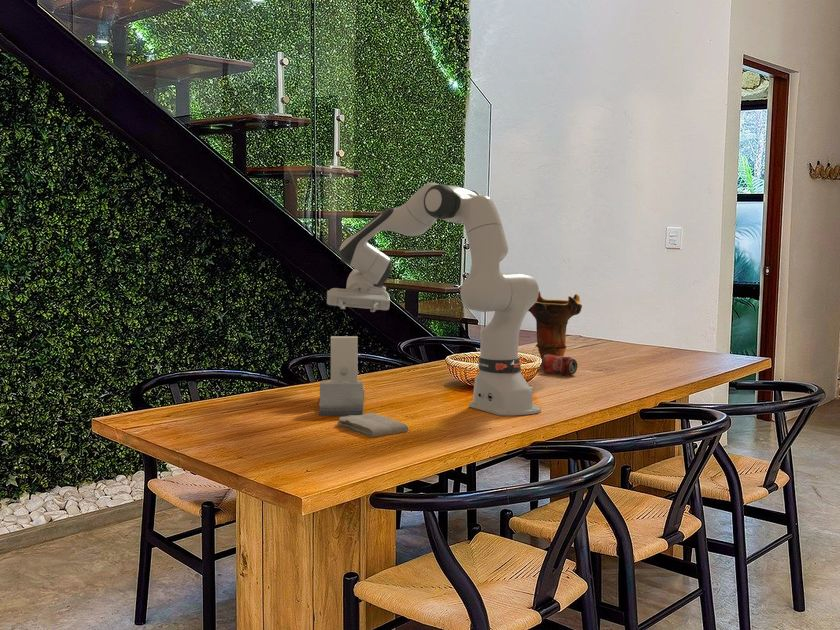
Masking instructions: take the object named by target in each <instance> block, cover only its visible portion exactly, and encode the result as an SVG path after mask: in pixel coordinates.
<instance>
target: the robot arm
mask: <svg viewBox="0 0 840 630" xmlns="http://www.w3.org/2000/svg"><path fill="white" fill-rule="evenodd" d="M437 220H443V221H446V222H450V223H452V224H463V226H464V229H465V234H466V237H467V243H468V248H469V250H470V251H469V252H470V256H471V257H470V258H471V264H470V265H471V266H470V269H469V270H470V271H469V273H468V276H466V278H465V279H464V281H463V282H462V284H461V286H460V299H461V302H462V304H463V305H464V306H465V308H467V309H468V310H470V311H476V312H480V313H481V312H482V313H486V312H494V313H493V317H492V319H491V320H490V322H489V323H488V324H487V325H485V326H484V327H483V328H482V329H481V331H480V351H479V353H480V355H479V357H478V370H479V372H478V374H477V375H476V377H474V383H473V394H472V401H470V402H469V404H468V407H470V408H473V409H475V410H476V409H477V410H480V411H484V412H487V413H489V414H490V413H491V414H494V415H498V416H524V415H534V414H539V413H541V412H542V409H541V408H540V407H539V406H538V405H536V404H534V402H533V401H534V399H533V394H534V388H533V386H530V385H529V383H528V382H527V381H526V379H525V377H524V376H523V374H522V372H521V371H522V369H521V368H522V366H521V365H522V363H521V362H520V358H519V339H520V338H519V337H520V331H521V327H522V323H523V322H524V321H523V320H524V318H525V316H526V314H527V313H528V312H529V311H528V310H529V309H530V308H531V307H532V306H533V305H534V304H535V303H536V301H537V299H538V295H539V291H540V289H539V285H538V281H536V279H535V278H534V277H533V276H531V275H528V274H525V273H519V272H512V273H511V272H507V273H504V272H503V273H502V271H501V269H500V262H502V261H503V260H504V259H505V258H506V257H507V254H508V252H509V245H508V243H507V242H508V241H507V238H506V234H505V230H504V226H503V223H502V220H501V217H500V214H499V211H498V209H497V207H496V204H495V203H494V201H493V199H492V198H491V197H489V196H487V195H483V194H481V193H479V192H477V191H475V190H473V189H472V190H470V189H466V188H464V187H461V186H457V185H450V184H449V185H448V184H444V183H441V184H439V183H437V182H428V183H427V182H426V183H425V184H424V185H422V186H421V187H420V188H419V189H418V190H417V191H416V192H415V193H413V194H412V195H411V196H410V197H409V199H408V200H407V201H406V202H405V203H403V204H402V205H400V206H397V207H388V208H386V209H384V210H383V211H381V212H380V213H378V214H377V215H375V216H374V217H373V218H372V219H370V220H369V221H368V222H367V223H366V224H364V225H363V227H361V228H360V229H359V230H357V231H356V232H354V233H353V234H351V235H350V236H348V237H347V238H346V239H344V240H343V242H342V243H341V245H340V247H339V249H338V254H339V258H340V260H341V262H342V263H344V264H346V265H348V266H350V267H351V268H353V269H352V271H351V272H350V273H349V274H348V277H347V280H346V286H345V287H346V288H339V287H333V288H330V289H329V290H327V291H326V304H327V305H328V306H336V307H339V308H340V310H346V308H347V307H348V308H357V309H365V310H366V309H369V311H370V312H371V313H375V312H376V311H379V310H380V311H389V310H390V305H391V298H390V294H389V292H387V286H384V285H383V284H385V282H386V281H387V280H388V278H389V276H390V274H391V273H392V272H391V271H392V270H393V269H392V268H393V264H392V259H391V257H389V256H388V255H387V254H385V253H384V252H382V251H381V250H379V249H378V248H376V247H375V246H373V245H372V244H370V243H369V242H368V241H369V240H371V239H373V237H374V236H376V235H377V234H378V233H380V232H383V231H389V232H392V233H393V232H394V233H397V234H401V235H404V236H407V237H419V236H421V235H423V234H425V233H426V232H427V231H428V230H430V228H432V226H433V225H434V224H435V223H436V221H437Z"/></svg>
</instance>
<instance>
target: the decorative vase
mask: <svg viewBox="0 0 840 630" xmlns="http://www.w3.org/2000/svg"><path fill="white" fill-rule="evenodd" d="M582 307H583V305H582V303H581V300H580V294H578V293H575V294H574V296H573V297H572V296H568V298H567V299H549V298H544V297H542V294H541V290H539V295H538V299H537V301H536V303H535V304H534V305H533V306H532V307H531V308H530V309H529V310H528V311H527V312H529V313H530V314H531V315H532V316H533V318H535V323H536V343H537V344H536V345H535V347H534V349H533V354H534V352H535V348H538V349H537V351H538V353H539V356H540V357H541V359H542V358H543V357H544V355H555V356H563V357H565V352H566V350H567V344H566V340H567V339H566V338H567V337H566V335H567V334H566V333H567V325H568V323H569V320H570V319H571V318H572V317H574V316H576V315H579V314H580V313H581V311H582Z"/></svg>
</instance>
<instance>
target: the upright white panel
mask: <svg viewBox="0 0 840 630" xmlns="http://www.w3.org/2000/svg"><path fill="white" fill-rule="evenodd" d="M358 340H359V339H358V336H357V335H355V336H353V335H352V336H350V335H349V336H348V335H347V336H346V335H345V336H339V335H337V336H336V335H335V336H334V335H333V336H332V335H331V336H330V381H359V379H358V374H359V373H358V367H359V366H358V363H359V362H358V353H359V352H358V350H359V348H358V343H359V342H358Z"/></svg>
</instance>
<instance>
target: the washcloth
mask: <svg viewBox="0 0 840 630" xmlns="http://www.w3.org/2000/svg"><path fill="white" fill-rule="evenodd" d="M336 423H337V424H338V426H340V427H341V428H343V429H346V430H350V431H351V432H355V433H357V434H360V435H364V436H366V437H370V438H377V437H383V436H387V435H394V434H395V435H396V434H400V433H401V434H402V433H406V432H408V431H409V426H408V425H407V424H406V423H404V422H400V421H398V420H395V419H392V418H390V417H386V416H383V415H380V414H377V413H375V412H367V413H363V415H349V416H339V418H338V421H337V422H336Z"/></svg>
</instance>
